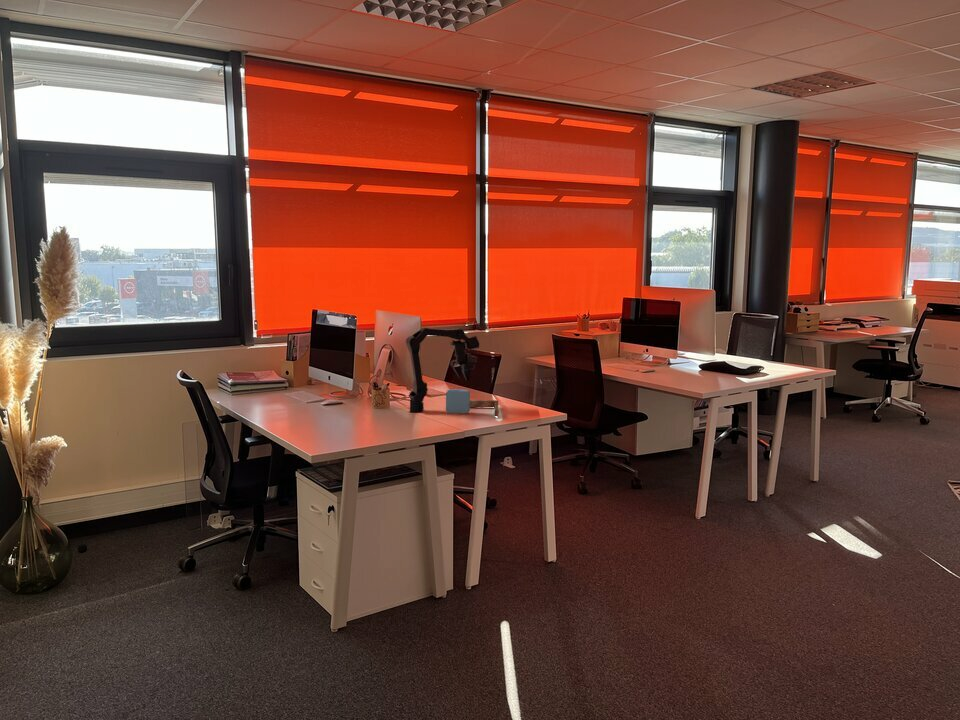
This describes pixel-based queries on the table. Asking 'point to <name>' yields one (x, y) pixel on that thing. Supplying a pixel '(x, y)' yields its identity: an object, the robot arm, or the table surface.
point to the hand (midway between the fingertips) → (464, 380)
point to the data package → (457, 401)
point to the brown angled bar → (485, 404)
